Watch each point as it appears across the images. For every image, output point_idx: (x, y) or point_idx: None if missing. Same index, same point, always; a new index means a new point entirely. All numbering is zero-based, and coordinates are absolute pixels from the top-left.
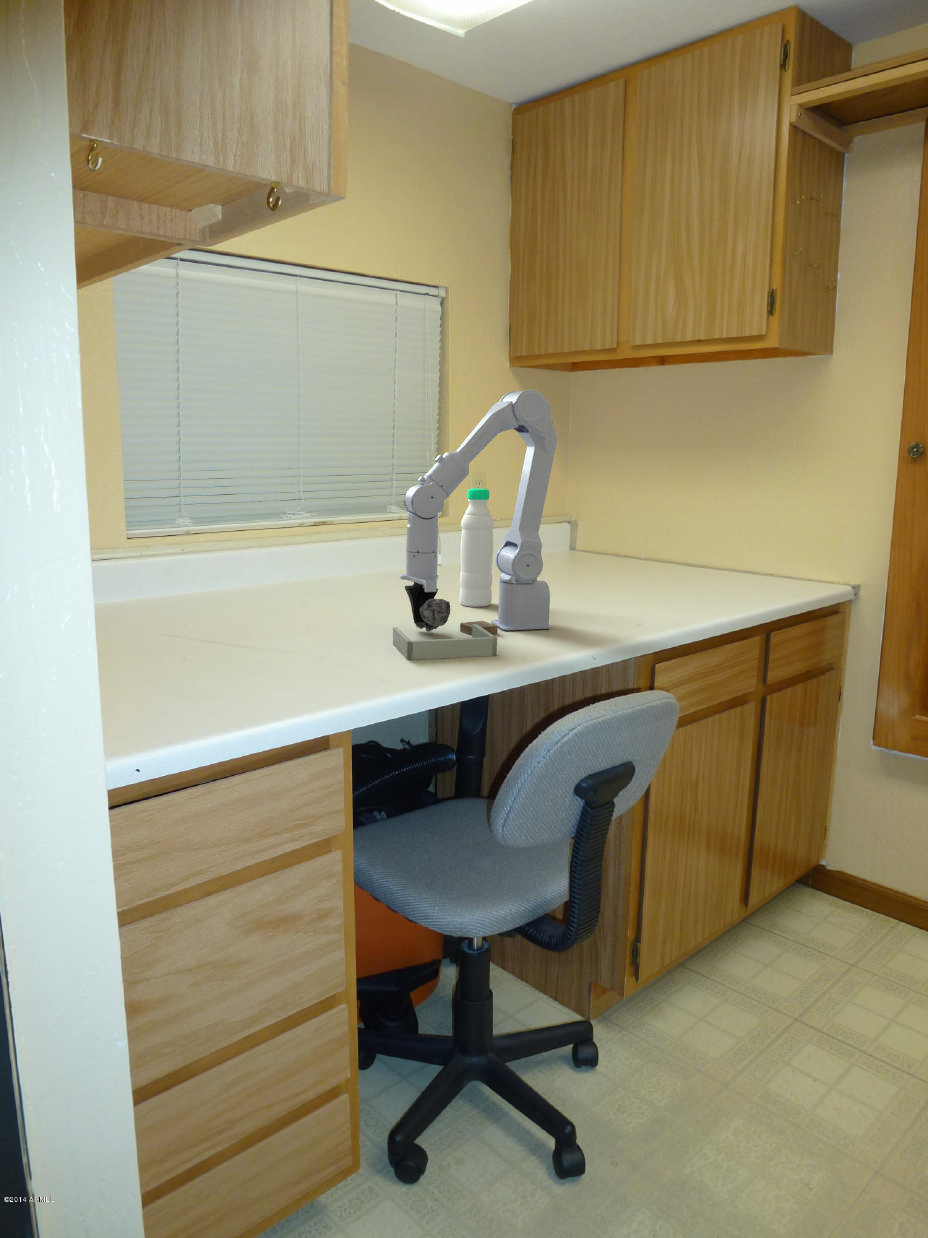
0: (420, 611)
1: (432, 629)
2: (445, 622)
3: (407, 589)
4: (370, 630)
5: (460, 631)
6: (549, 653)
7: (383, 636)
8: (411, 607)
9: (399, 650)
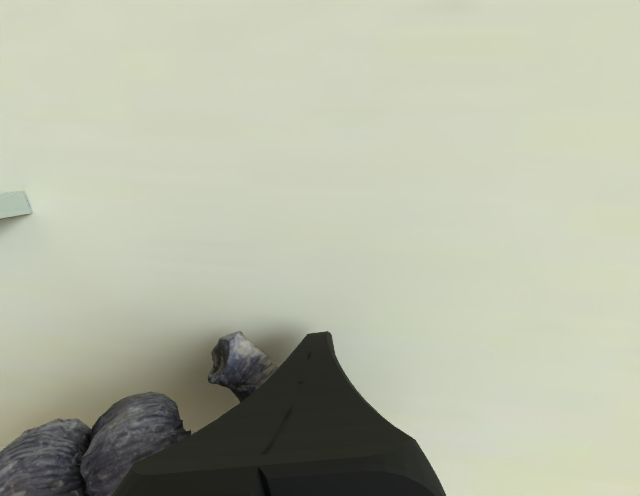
0: (123, 413)
1: None
2: None
3: (194, 470)
4: (337, 73)
5: None
6: None
7: (189, 149)
8: (335, 368)
9: None
